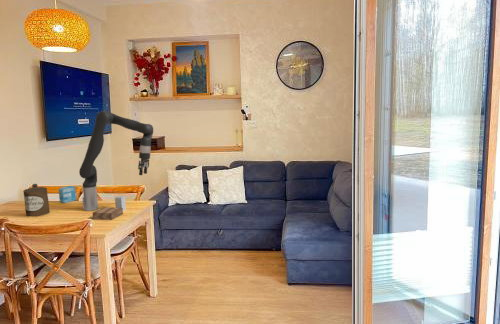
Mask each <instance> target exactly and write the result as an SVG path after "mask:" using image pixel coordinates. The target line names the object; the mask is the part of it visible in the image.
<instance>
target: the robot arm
mask: <svg viewBox="0 0 500 324" xmlns="http://www.w3.org/2000/svg"><path fill="white" fill-rule="evenodd" d="M109 124H110V125H118V126H120V127H123V128H125V129H127V130H131V131H136V132H138V133H140V134H142V137H141V139H140V146H139V153H138V159H140V160H138V168H137V170H138V175H139V176H143V174H145V175H146V174H148V169H149V168H150V159H151V145H152V138H153V135H154V127H153V125H152V124H151V123H143V122H140V121H137V120H134V119H131V118H127V117H122V116H119V115H117V114H115V113H113V112H111V111H108V110H102V111H99V112H98V113H97V115H96V116H95V122H94V127H93V131H92V133H91V137H90V140H89V143H88V145H87V150H86V152H85V156H84V158H83V161H82V163H81V166H80V168H79V176H80V177H81V178H82V179H84V181H83V182H82V194H83V196H82V207H83V208H82V210H83V211H88V212H90V211H97V210H99V204H98V203H99V202H98V201H99V200H98V193H97V189H98V188H97V183H98V171H97V168H96V166H95V165H94V163H95V161H96V159H97V158H98V156H99V155H100V154H101V152H102V150H103V146H104V142H105V138H104V134H105V133H104V132H105V128H106V126H107V125H109Z"/></svg>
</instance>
